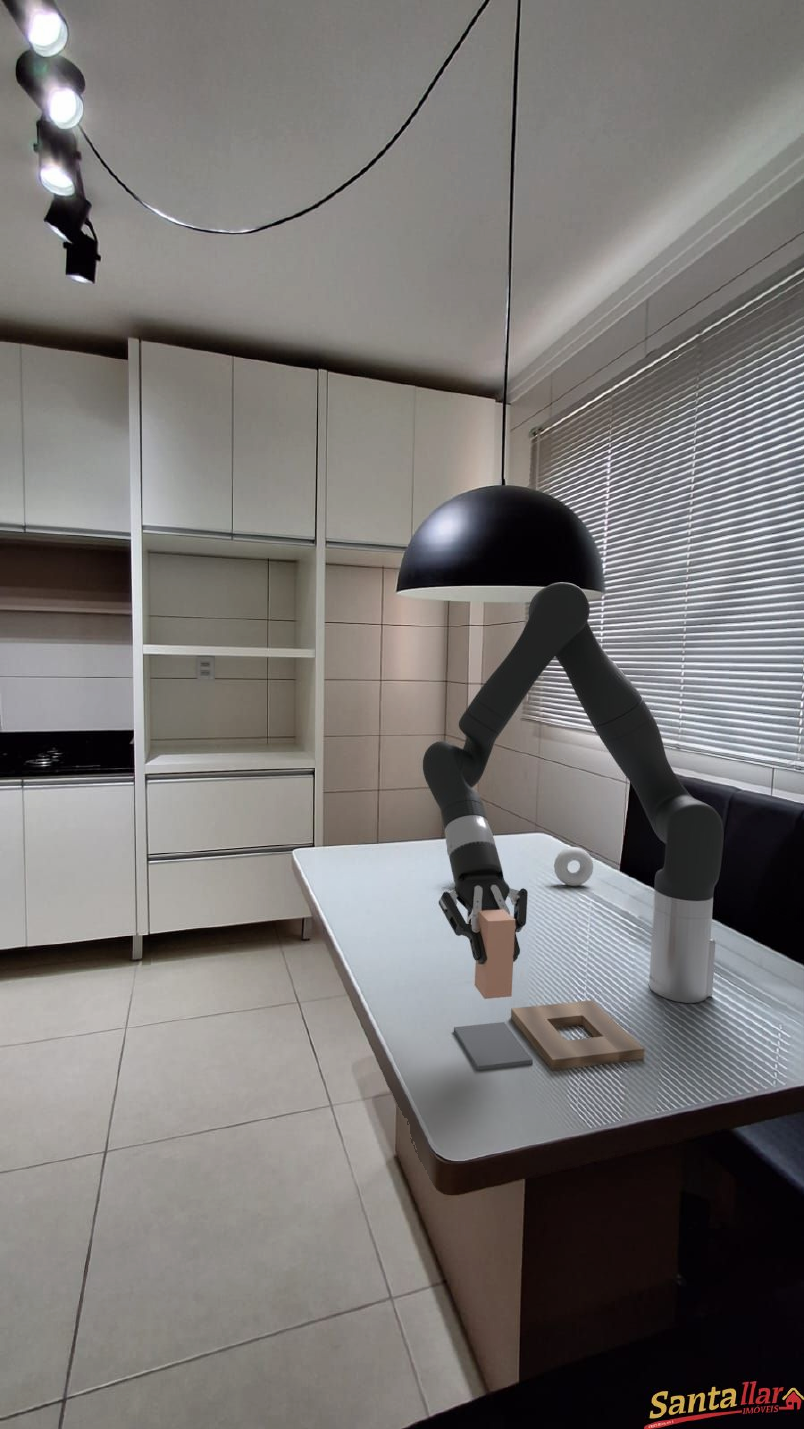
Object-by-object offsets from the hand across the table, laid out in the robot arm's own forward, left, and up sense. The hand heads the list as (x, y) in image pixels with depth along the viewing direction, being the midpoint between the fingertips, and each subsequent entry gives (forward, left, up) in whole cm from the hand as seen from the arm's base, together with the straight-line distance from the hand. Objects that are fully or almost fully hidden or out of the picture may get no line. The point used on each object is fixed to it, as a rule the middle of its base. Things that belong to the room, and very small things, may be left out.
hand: (498, 960), depth 93 cm
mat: (0, -1, -13) cm, 13 cm away
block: (0, -1, -5) cm, 5 cm away
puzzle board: (-13, -1, -13) cm, 19 cm away
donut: (-48, -66, -14) cm, 83 cm away
